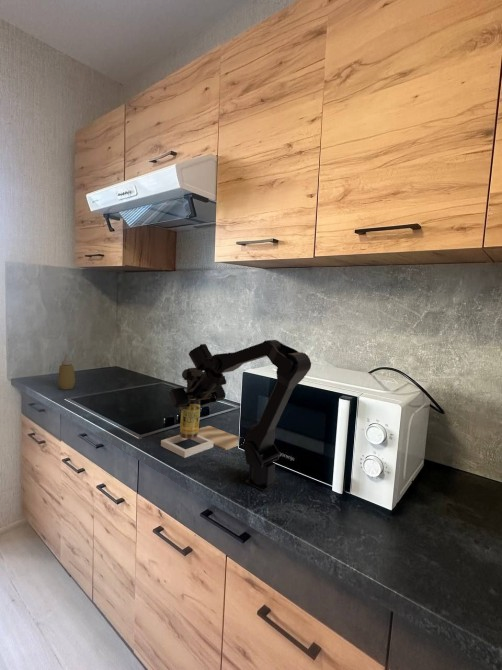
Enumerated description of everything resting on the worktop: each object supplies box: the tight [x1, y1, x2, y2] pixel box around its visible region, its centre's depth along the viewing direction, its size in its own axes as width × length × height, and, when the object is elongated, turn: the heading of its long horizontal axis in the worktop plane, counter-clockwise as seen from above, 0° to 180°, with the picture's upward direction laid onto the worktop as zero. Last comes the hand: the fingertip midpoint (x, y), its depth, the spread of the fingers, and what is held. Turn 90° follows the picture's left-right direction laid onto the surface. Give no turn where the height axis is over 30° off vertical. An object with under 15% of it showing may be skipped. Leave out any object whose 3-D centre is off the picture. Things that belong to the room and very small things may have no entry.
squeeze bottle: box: [57, 353, 76, 390], centre depth 185 cm, size 8×8×18 cm
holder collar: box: [160, 434, 214, 459], centre depth 121 cm, size 12×12×2 cm
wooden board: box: [198, 425, 240, 451], centre depth 131 cm, size 20×11×1 cm, turn 50°
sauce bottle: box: [179, 380, 201, 440], centre depth 120 cm, size 6×6×20 cm
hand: (188, 407), depth 122 cm, fingers closed on sauce bottle, 6 cm apart
